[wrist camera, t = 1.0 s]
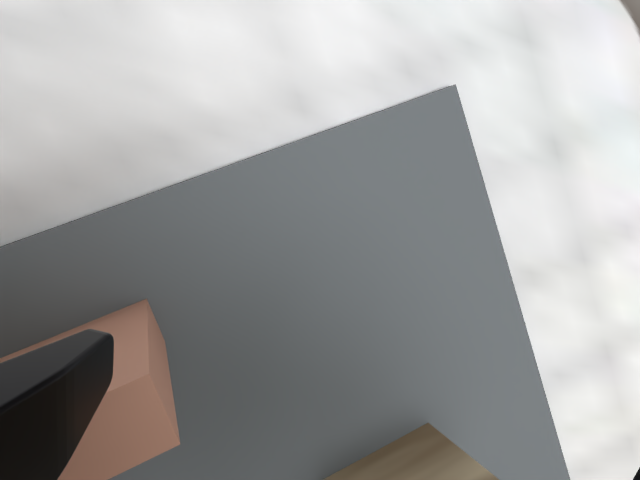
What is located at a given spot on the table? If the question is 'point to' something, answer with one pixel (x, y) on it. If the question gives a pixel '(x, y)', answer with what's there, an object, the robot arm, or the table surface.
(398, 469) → the domino
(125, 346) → the domino
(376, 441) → the mat
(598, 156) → the table surface
